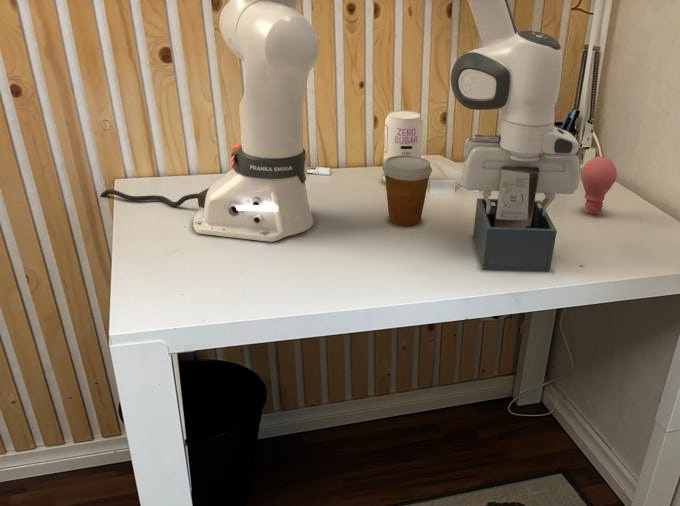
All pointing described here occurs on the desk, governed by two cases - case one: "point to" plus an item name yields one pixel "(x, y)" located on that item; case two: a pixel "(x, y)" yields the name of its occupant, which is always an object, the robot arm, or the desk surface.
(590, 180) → the light bulb
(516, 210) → the coffee box
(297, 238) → the desk surface
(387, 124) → the supplement can
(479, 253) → the open box
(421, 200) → the disposable coffee cup
